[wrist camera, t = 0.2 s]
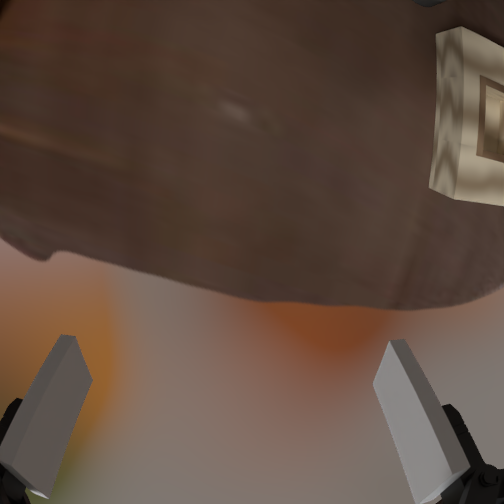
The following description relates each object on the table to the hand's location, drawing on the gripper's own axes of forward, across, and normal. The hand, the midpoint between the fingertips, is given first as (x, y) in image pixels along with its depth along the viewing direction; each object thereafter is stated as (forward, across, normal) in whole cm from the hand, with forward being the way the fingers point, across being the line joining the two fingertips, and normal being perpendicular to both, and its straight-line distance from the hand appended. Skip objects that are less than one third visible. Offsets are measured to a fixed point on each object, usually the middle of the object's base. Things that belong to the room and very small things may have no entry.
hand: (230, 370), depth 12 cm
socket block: (+28, +33, +13) cm, 46 cm away
